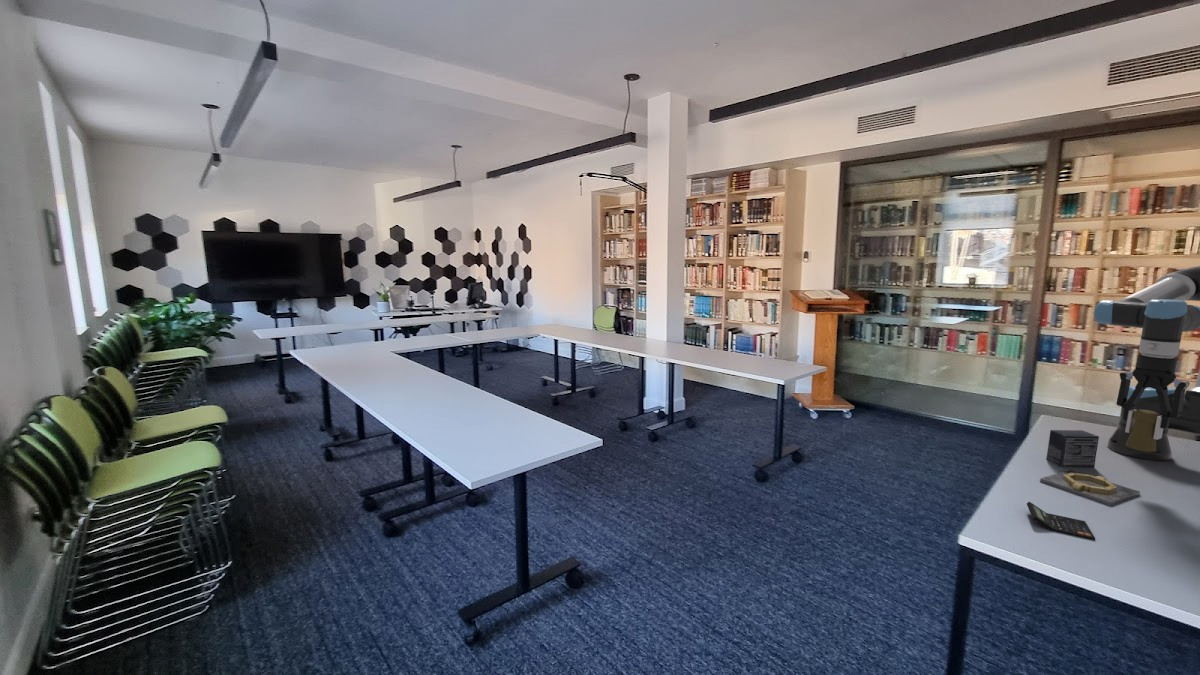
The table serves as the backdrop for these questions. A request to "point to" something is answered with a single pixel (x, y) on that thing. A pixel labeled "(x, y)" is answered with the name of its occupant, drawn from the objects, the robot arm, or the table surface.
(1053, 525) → the calculator
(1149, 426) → the cork
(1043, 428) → the table surface
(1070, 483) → the socket
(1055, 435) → the small box
